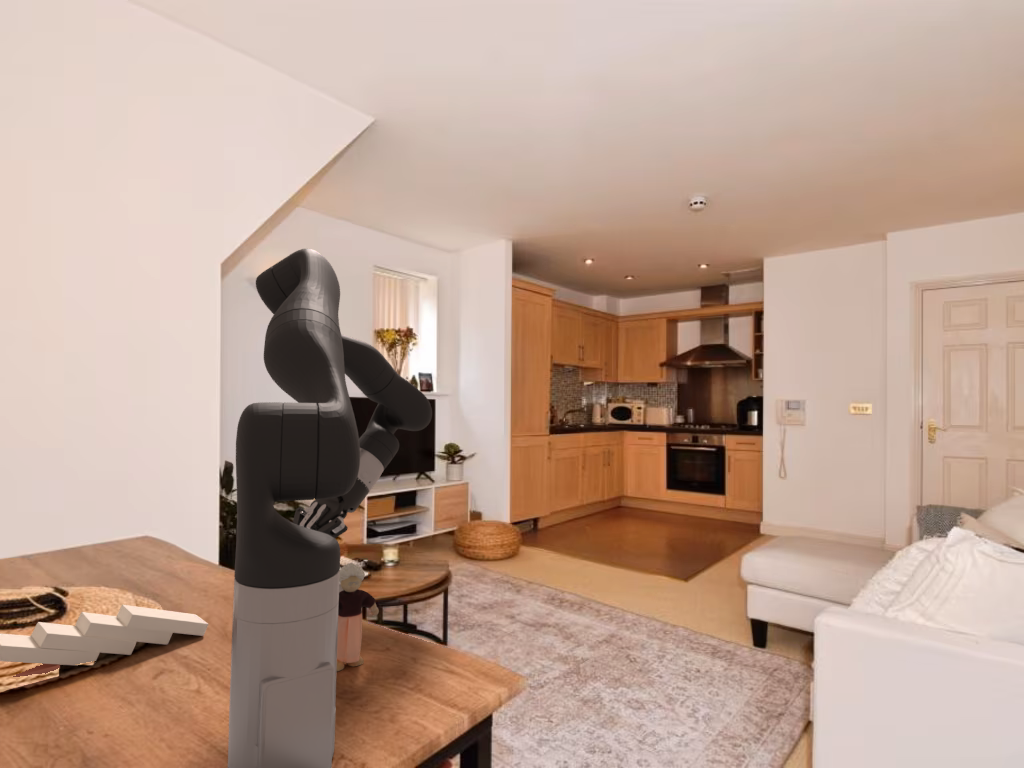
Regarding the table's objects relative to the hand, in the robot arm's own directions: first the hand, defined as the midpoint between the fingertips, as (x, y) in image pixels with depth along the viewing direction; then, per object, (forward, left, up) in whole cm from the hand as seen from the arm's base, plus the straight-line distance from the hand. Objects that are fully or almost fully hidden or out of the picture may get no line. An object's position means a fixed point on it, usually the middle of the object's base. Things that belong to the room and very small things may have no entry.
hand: (285, 565), depth 89 cm
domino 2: (-5, +28, -6) cm, 29 cm away
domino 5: (-2, +12, -6) cm, 14 cm away
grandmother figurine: (-23, -2, -7) cm, 24 cm away
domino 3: (-3, +21, -6) cm, 22 cm away
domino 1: (-4, +24, -6) cm, 26 cm away
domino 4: (-2, +16, -6) cm, 18 cm away
